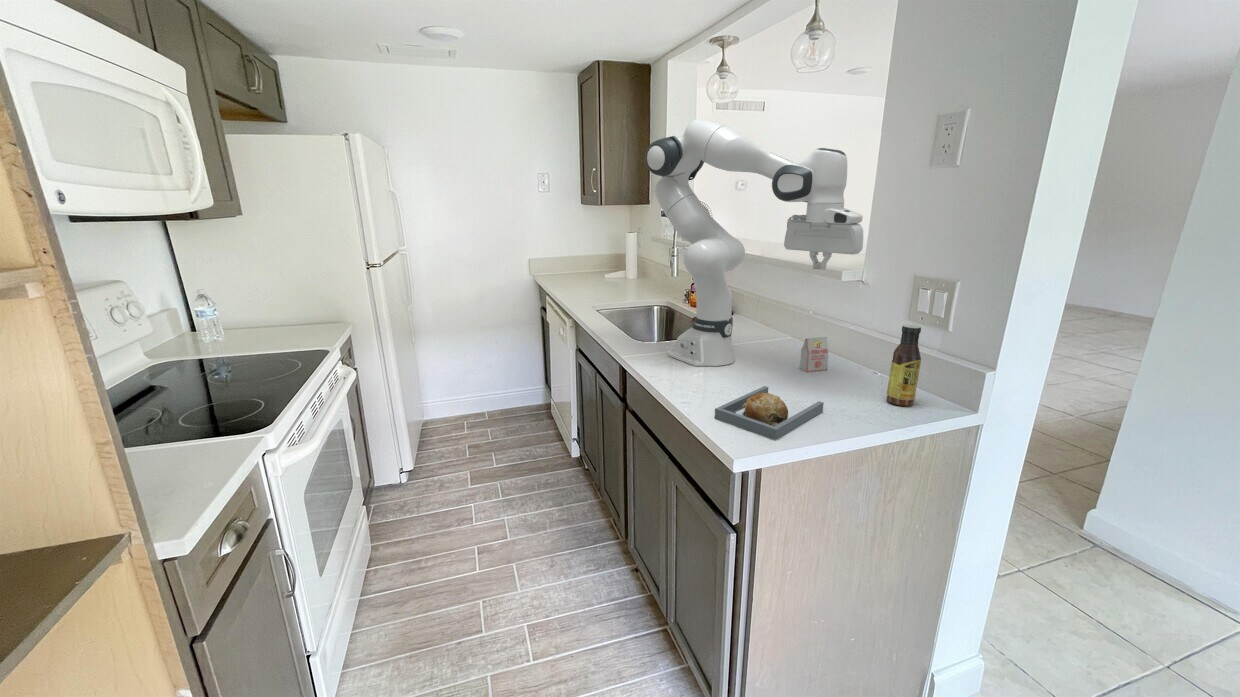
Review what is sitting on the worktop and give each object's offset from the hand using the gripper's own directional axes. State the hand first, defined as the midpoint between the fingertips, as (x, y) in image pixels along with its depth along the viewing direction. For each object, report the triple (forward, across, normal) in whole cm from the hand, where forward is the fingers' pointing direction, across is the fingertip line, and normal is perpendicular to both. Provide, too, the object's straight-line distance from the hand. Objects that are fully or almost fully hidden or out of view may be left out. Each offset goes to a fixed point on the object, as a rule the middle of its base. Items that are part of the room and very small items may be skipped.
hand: (819, 269), depth 135 cm
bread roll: (+32, +5, -29) cm, 44 cm away
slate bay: (+32, +5, -27) cm, 42 cm away
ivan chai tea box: (+32, -4, +11) cm, 34 cm away
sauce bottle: (+32, +24, +2) cm, 40 cm away
